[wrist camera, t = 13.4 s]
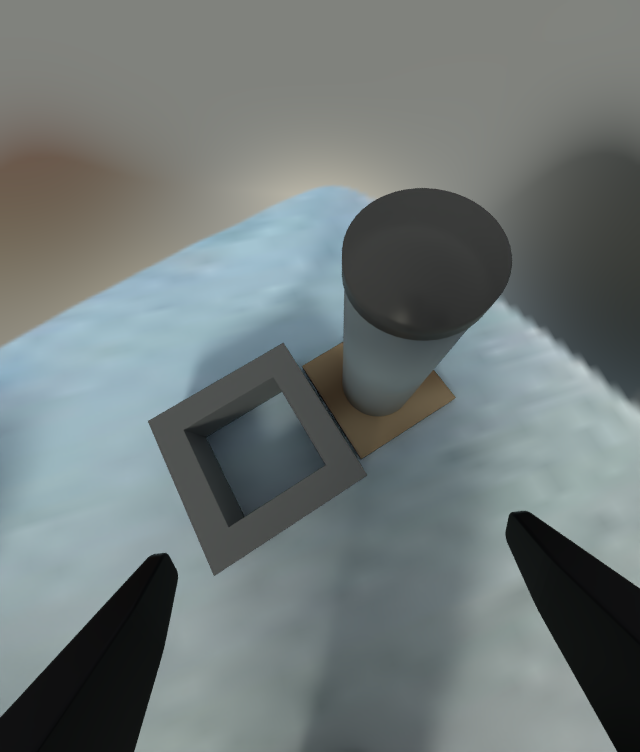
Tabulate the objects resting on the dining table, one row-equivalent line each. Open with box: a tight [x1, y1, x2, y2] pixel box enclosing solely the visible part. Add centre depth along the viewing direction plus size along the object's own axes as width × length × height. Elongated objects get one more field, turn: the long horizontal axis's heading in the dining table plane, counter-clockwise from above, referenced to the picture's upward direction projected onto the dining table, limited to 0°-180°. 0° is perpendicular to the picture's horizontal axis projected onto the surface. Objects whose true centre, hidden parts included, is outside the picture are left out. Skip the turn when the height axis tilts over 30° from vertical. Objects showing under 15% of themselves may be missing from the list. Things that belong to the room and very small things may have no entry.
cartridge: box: [342, 188, 512, 416], centre depth 17 cm, size 5×5×14 cm
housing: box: [148, 343, 367, 576], centre depth 21 cm, size 10×10×4 cm
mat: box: [302, 342, 456, 459], centre depth 23 cm, size 8×8×1 cm
